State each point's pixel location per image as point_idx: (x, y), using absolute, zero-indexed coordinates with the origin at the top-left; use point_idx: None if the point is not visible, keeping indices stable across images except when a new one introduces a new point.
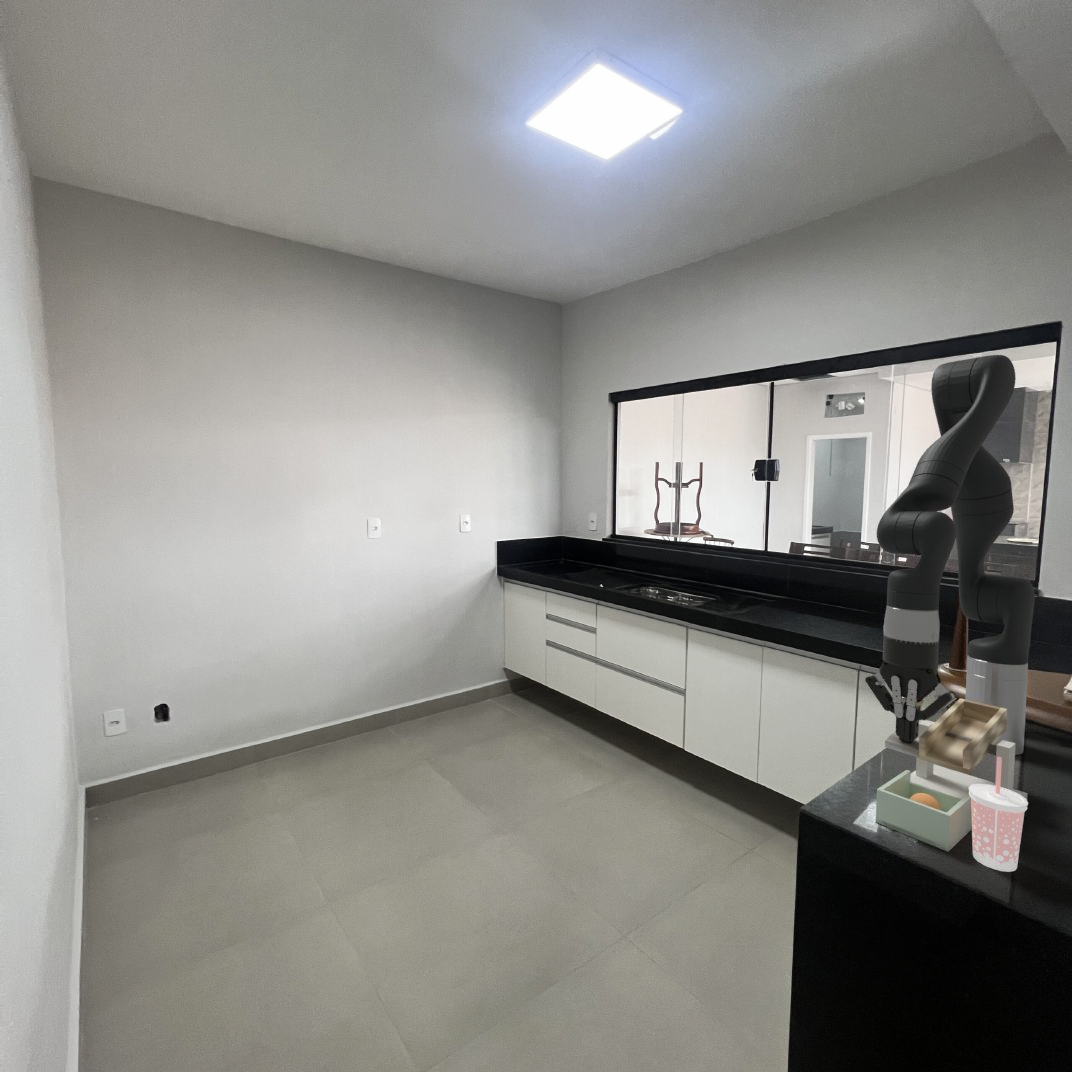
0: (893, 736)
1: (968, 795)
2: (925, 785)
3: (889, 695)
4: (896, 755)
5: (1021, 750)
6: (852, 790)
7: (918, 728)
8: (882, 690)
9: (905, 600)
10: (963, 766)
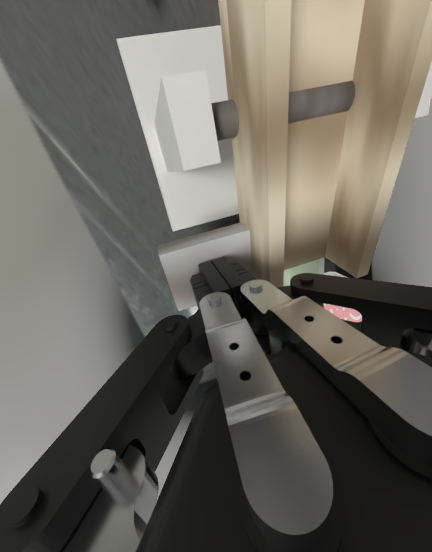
0: (177, 281)
1: (320, 273)
2: (204, 200)
3: (164, 372)
4: (13, 32)
5: None
6: (151, 310)
7: (249, 273)
8: (157, 437)
9: None
10: (327, 257)
